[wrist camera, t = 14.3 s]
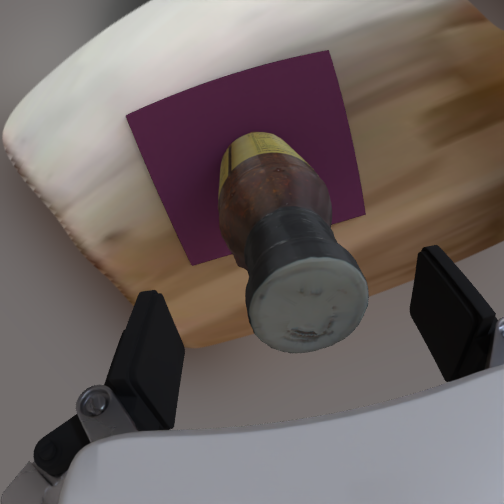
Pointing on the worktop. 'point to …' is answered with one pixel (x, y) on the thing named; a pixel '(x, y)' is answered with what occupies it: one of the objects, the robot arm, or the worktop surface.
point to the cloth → (236, 125)
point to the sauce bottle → (287, 247)
